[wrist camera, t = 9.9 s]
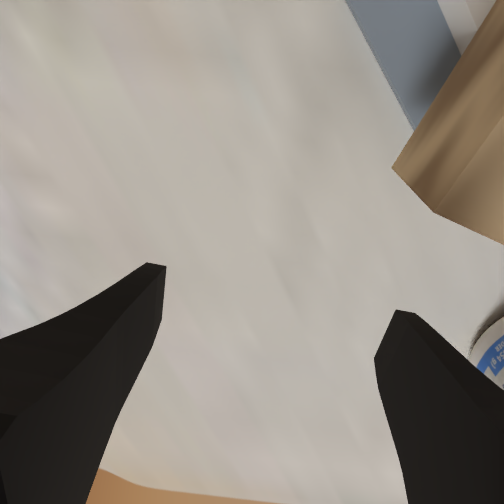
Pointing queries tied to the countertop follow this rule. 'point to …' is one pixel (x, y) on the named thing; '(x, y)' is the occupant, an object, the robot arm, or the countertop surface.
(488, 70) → the oak stick
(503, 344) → the supplement tub
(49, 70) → the countertop surface
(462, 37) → the fulcrum stand
